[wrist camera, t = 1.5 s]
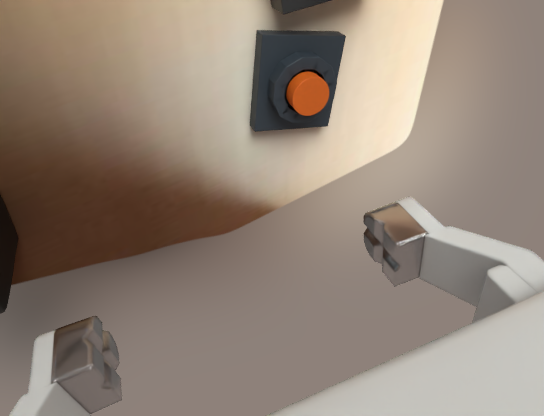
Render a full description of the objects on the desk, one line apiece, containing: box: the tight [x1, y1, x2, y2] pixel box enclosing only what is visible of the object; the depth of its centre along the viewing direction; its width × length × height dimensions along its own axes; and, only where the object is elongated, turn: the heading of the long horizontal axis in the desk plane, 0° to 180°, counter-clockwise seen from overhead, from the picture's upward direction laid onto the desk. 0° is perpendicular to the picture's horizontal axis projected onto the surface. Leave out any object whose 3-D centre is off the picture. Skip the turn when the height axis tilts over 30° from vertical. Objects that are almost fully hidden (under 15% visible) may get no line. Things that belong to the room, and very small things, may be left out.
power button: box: [286, 71, 329, 116], centre depth 41 cm, size 4×4×2 cm
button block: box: [250, 30, 346, 131], centre depth 43 cm, size 10×9×4 cm
